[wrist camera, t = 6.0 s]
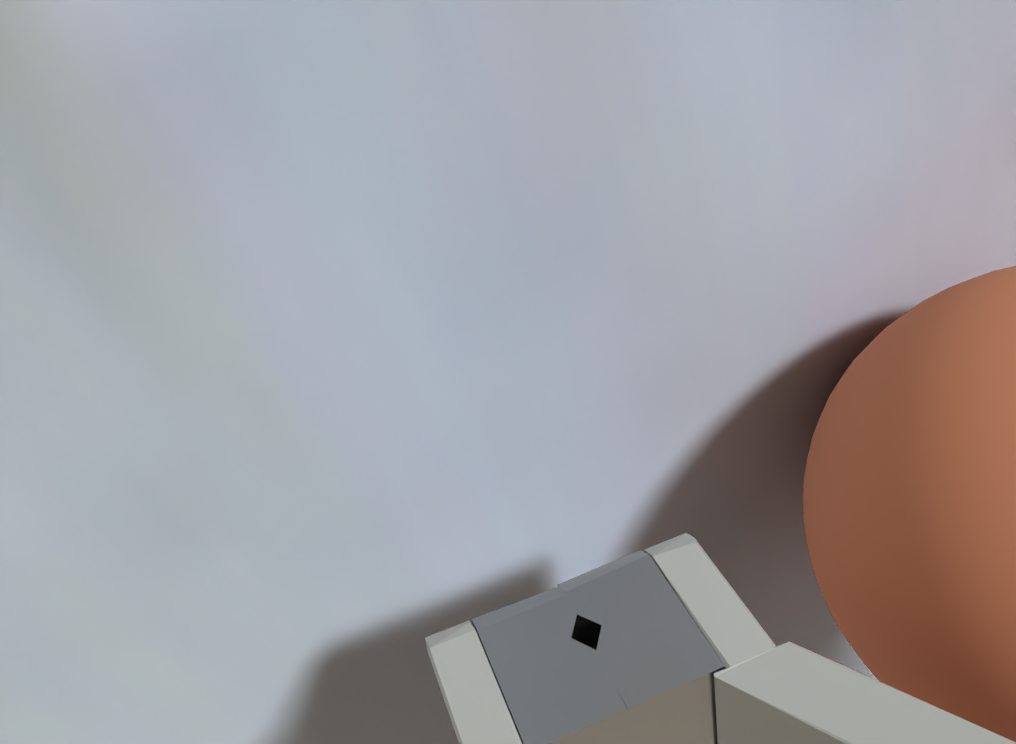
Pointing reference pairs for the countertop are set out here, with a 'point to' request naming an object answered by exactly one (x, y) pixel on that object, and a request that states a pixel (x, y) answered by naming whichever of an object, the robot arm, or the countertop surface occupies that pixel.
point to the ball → (926, 502)
